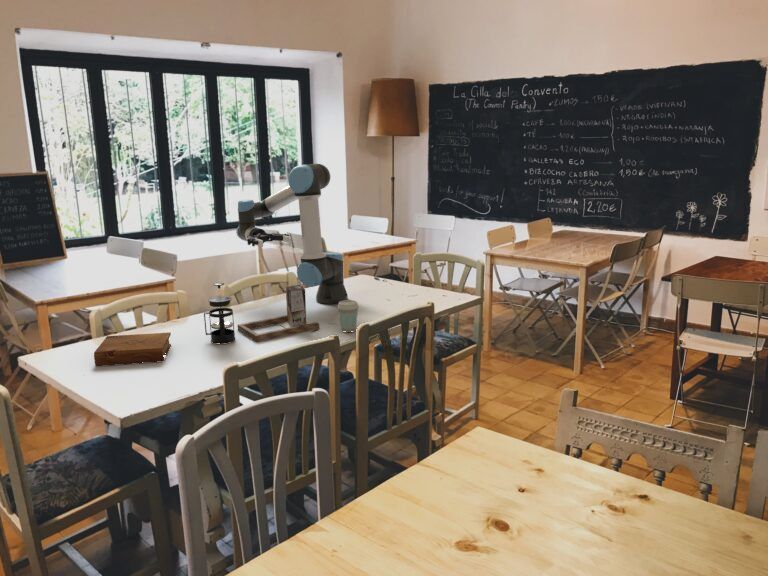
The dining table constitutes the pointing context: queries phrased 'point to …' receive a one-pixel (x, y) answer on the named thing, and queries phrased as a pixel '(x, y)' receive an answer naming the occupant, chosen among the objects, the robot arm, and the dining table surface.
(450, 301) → the dining table surface
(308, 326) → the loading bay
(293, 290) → the coffee box
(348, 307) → the coffee cup
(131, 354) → the brown wooden flat block
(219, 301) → the french press
